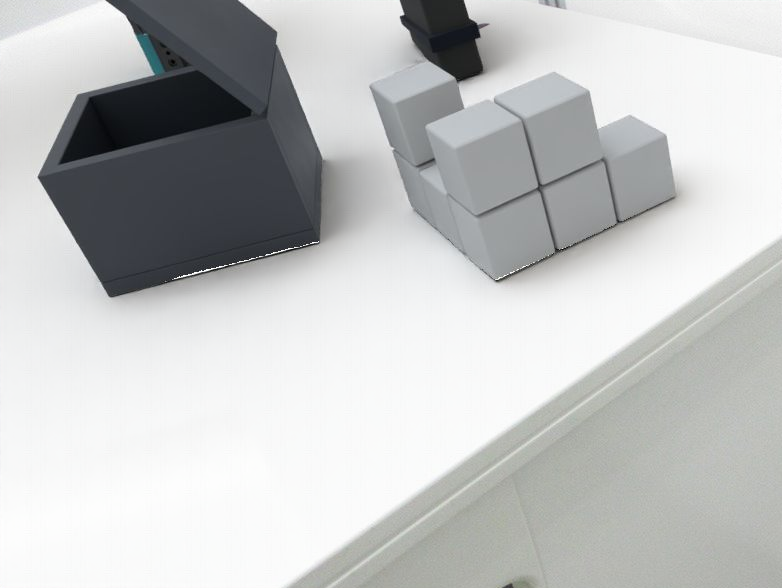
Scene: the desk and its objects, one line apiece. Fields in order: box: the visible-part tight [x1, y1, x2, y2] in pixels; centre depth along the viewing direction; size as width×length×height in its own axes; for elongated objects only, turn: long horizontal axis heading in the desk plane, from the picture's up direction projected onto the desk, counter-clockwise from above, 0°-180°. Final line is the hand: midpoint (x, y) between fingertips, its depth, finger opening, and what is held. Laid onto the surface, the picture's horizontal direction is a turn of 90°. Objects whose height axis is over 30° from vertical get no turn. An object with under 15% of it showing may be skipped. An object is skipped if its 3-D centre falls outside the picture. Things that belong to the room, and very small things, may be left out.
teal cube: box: [132, 29, 165, 75], centre depth 92 cm, size 4×4×4 cm
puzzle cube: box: [369, 60, 677, 280], centre depth 62 cm, size 12×12×8 cm
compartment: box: [37, 44, 323, 298], centre depth 67 cm, size 13×12×8 cm
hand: (184, 63), depth 93 cm, fingers closed on teal cube, 4 cm apart
